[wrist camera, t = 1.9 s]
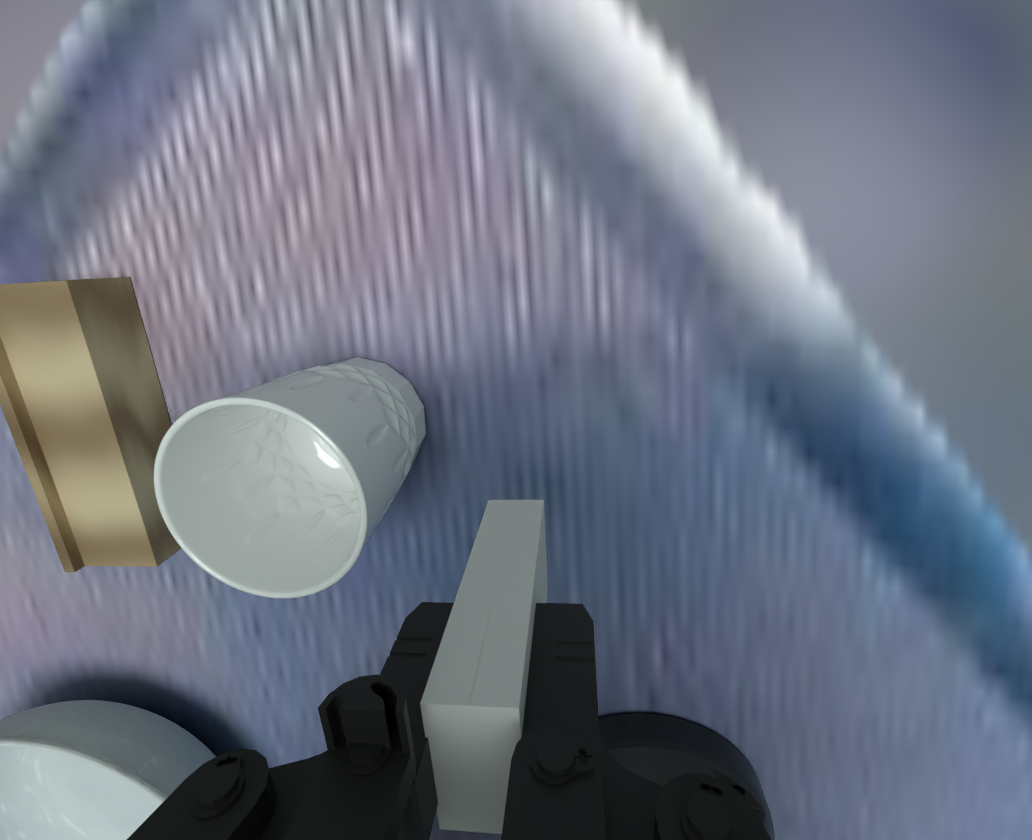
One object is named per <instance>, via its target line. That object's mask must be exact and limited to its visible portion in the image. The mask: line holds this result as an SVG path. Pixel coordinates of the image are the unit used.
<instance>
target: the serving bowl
mask: <svg viewBox="0 0 1032 840" xmlns="http://www.w3.org/2000/svg"><path fill="white" fill-rule="evenodd" d="M215 757H216V756H215V755H214V754H213V753H212V752H211V751H210V750H209V749H208V748H207V747H206V746H205V745H204V744H203V743H202V742H201V741H199V740H198V739H197V738H196V737H194V736H193V735H192V734H190V733H189V732H188V731H186V730H185V729H183V728H182V727H180V726H178V725H177V724H175V723H174V722H172V721H170V720H168V719H166V718H164V717H161V716H159V715H157V714H155V713H152V712H150V711H147V710H144V709H141V708H138V707H134V706H131V705H127V704H122V703H117V702H110V701H101V700H74V701H64V702H58V703H52V704H47V705H42V706H38V707H34V708H31V709H28V710H24V711H22V712H19V713H16V714H14V715H11V716H9V717H6V718H4V719H2V720H0V840H127V839H128V838H129V837H130V836H131V835H132V834H133V833H134V832H135V831H136V830H137V828H138V827H139V826H140V825H141V824H142V823H143V822H144V821H145V820H146V819H147V818H148V817H149V816H150V815H151V814H152V813H153V812H154V811H155V810H156V809H157V808H158V807H159V806H160V805H161V804H162V803H163V802H164V801H165V800H166V799H167V798H168V796H169V795H170V794H171V793H172V792H173V791H174V790H175V789H176V788H177V787H178V786H179V785H180V784H181V783H182V782H183V781H184V780H185V779H186V778H187V777H188V776H189V775H191V774H192V773H193V772H194V771H195V770H197V769H198V768H199V767H200V766H201V765H203V764H204V763H206V762H207V761H209V760H211V759H213V758H215Z"/></svg>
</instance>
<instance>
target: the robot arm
mask: <svg viewBox="0 0 1032 840" xmlns="http://www.w3.org/2000/svg"><path fill="white" fill-rule="evenodd" d="M547 590H548V579H547V558H546V538H545V517H544V500H488V503H487V506H486V509H485V512H484V515H483V518H482V521H481V524H480V527H479V530H478V533H477V536H476V539H475V542H474V545H473V548H472V551H471V554H470V557H469V560H468V563H467V566H466V569H465V572H464V575H463V578H462V581H461V584H460V587H459V590H458V593H457V596H456V599H455V602H454V603H432V602H422V603H421V604H420V605H419V606H418V607H417V608H416V609H415V610H414V611H412V612H411V613H410V614H409V615H408V616H407V617H406V618H405V621H404V623H403V625H402V627H401V629H400V632H399V634H398V636H397V641H395V643H394V645H393V647H392V649H391V652H390V657H388V658H387V660H386V663H385V665H384V667H383V669H382V671H381V674H380V675H370V676H362V677H358V678H356V679H353V680H351V681H348V682H346V683H343V684H342V685H341V686H339V687H338V688H337V689H335V690H334V691H333V692H331V693H330V694H329V695H328V696H327V697H326V699H325V700H324V701H323V702H322V704H321V705H320V706H319V708H318V710H319V714H320V719H321V723H322V727H323V731H324V735H325V740H326V744H327V748H328V750H327V751H325V752H324V753H322V754H319V755H317V756H314V757H311V758H308V759H304V760H301V761H297V762H293V763H289V764H285V765H281V766H277V767H273V768H268V764H267V761H266V758H265V757H264V756H263V755H261V754H260V753H258V752H257V751H256V750H247V749H238V750H234V751H230V752H226V753H222V754H221V755H219V756H217V757H215V758H213V759H211V760H209V761H207V762H206V763H204V764H203V765H201V766H200V767H199V768H198V769H197V770H195V771H194V772H193V773H192V774H191V775H189V776H188V777H187V778H186V779H185V780H184V781H183V782H182V783H181V784H180V785H179V786H178V787H177V788H176V789H175V790H174V791H173V792H172V793H171V794H170V795H169V796H168V798H167V799H166V800H165V801H164V802H163V803H162V804H161V805H160V806H159V807H158V808H157V809H156V810H155V811H154V812H153V813H152V814H151V815H150V816H149V817H148V818H147V819H146V820H145V821H144V822H143V823H142V824H141V825H140V826H139V827H138V828H137V830H136V831H135V832H134V833H133V834H132V835H131V836H130V837H129V838H128V839H127V840H429V838H430V833H431V829H432V825H433V821H434V817H435V813H436V809H437V816H438V822H439V829H440V830H453V831H467V832H480V833H493V834H502V837H501V840H775V837H774V828H773V822H772V818H771V814H770V811H769V808H768V805H767V802H766V799H765V797H764V794H763V791H762V788H761V785H760V782H759V780H758V777H757V775H756V773H755V771H754V769H753V768H752V766H751V765H750V763H749V762H748V760H747V759H746V758H745V757H744V756H743V755H742V753H741V752H740V751H739V750H737V749H736V748H735V747H734V746H733V745H732V744H731V743H729V742H728V741H727V740H725V739H724V738H722V737H721V736H719V735H717V734H716V733H714V732H712V731H710V730H708V729H706V728H704V727H702V726H700V725H697V724H694V723H692V722H689V721H685V720H682V719H678V718H674V717H669V716H664V715H656V714H641V713H633V714H619V715H612V716H607V717H602V718H598V703H597V683H596V664H595V645H594V626H593V620H592V618H591V617H590V615H589V613H588V612H587V610H586V609H585V607H584V606H583V604H561V603H547Z"/></svg>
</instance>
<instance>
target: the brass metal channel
mask: <svg viewBox="0 0 1032 840" xmlns="http://www.w3.org/2000/svg"><path fill="white" fill-rule="evenodd" d="M0 404H1V407H2V410H3V412H4V415H5V417H6V420H7V423H8V425H9V428H10V430H11V433H12V436H13V438H14V441H15V443H16V446H17V449H18V451H19V454H20V456H21V459H22V462H23V464H24V467H25V469H26V472H27V475H28V477H29V480H30V483H31V485H32V488H33V490H34V493H35V496H36V498H37V501H38V503H39V506H40V509H41V511H42V514H43V516H44V519H45V522H46V524H47V527H48V529H49V532H50V535H51V537H52V540H53V542H54V545H55V548H56V550H57V553H58V555H59V558H60V561H61V563H62V566H63V568H64V571H65V572H76V571H77V570H79V569H81V568H82V567H84V566H154V567H157V566H159V565H160V564H161V563H163V562H164V561H165V560H167V559H168V558H169V557H171V556H172V555H173V554H175V553H176V552H177V551H178V550H180V549H181V547H180V546H179V544H178V543H177V542H176V540H175V539H174V537H173V536H172V534H171V533H170V531H169V529H168V527H167V526H166V524H165V522H164V519H163V517H162V515H161V512H160V509H159V506H158V503H157V499H156V494H155V488H154V465H155V459H156V455H157V451H158V448H159V446H160V443H161V441H162V439H163V437H164V436H165V434H166V433H167V431H168V430H169V428H170V427H171V422H170V418H169V415H168V411H167V408H166V404H165V401H164V397H163V394H162V390H161V386H160V383H159V379H158V376H157V372H156V369H155V365H154V362H153V358H152V354H151V351H150V347H149V344H148V340H147V337H146V333H145V329H144V326H143V322H142V319H141V315H140V312H139V308H138V305H137V301H136V297H135V294H134V290H133V287H132V283H131V280H130V277H120V278H102V279H83V280H65V281H49V282H34V283H18V284H2V285H0Z"/></svg>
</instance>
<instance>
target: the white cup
mask: <svg viewBox="0 0 1032 840" xmlns="http://www.w3.org/2000/svg"><path fill="white" fill-rule="evenodd" d="M425 435H426V426H425V413H424V406H423V404H422V402H421V400H420V399H419V397H418V395H417V393H416V392H415V390H414V388H413V386H412V384H411V383H410V381H409V380H407V379H406V378H405V377H403V376H402V375H401V374H399V373H398V372H397V371H395V370H394V369H393V368H391V367H390V366H389V365H387V364H386V363H382V362H377V361H373V360H369V359H364V358H360V357H355V358H351V359H347V360H343V361H338V362H334V363H330V364H327V365H325V366H324V365H321V366H316V367H312V368H309V369H306V370H301V371H298V372H295V373H292V374H289V375H286V376H283V377H280V378H277V379H274V380H271V381H268V382H265V383H262V384H260V385H257V386H254V387H251V388H248V389H245V390H242V391H239V392H236V393H233V394H230V395H227V396H224V397H221V398H218V399H215V400H212V401H209V402H206V403H203V404H201V405H199V406H197V407H195V408H193V409H191V410H189V411H188V412H186V413H185V414H184V415H182V416H181V417H180V418H179V419H178V420H177V421H176V422H175V423H174V424H173V425H172V426H171V427H170V428H169V430H168V431H167V433H166V434H165V436H164V437H163V439H162V441H161V443H160V446H159V448H158V451H157V455H156V459H155V465H154V488H155V494H156V499H157V503H158V506H159V509H160V512H161V515H162V517H163V519H164V522H165V524H166V526H167V527H168V529H169V531H170V533H171V534H172V536H173V537H174V539H175V540H176V542H177V543H178V544H179V546H180V547H181V548H182V549H183V550H184V552H185V553H186V554H187V555H188V556H189V557H190V558H191V559H192V560H193V561H194V562H195V563H196V564H198V565H199V566H200V567H201V568H202V569H204V570H205V571H206V572H208V573H209V574H211V575H212V576H214V577H215V578H217V579H218V580H220V581H222V582H224V583H225V584H227V585H229V586H232V587H234V588H236V589H239V590H241V591H244V592H247V593H250V594H254V595H258V596H263V597H270V598H296V597H302V596H307V595H311V594H314V593H317V592H319V591H322V590H324V589H326V588H328V587H330V586H331V585H333V584H334V583H336V582H337V581H338V580H340V579H341V578H342V577H343V576H344V575H345V574H346V573H347V572H348V571H349V570H350V569H351V567H352V566H353V565H354V563H355V562H356V560H357V558H358V557H359V555H360V553H361V552H362V550H363V548H364V547H365V545H366V544H367V542H368V540H369V539H370V537H371V535H372V534H373V532H374V531H375V529H376V527H377V526H378V524H379V522H380V521H381V519H382V518H383V516H384V514H385V513H386V511H387V510H388V508H389V506H390V505H391V503H392V501H393V500H394V498H395V495H396V494H397V492H398V490H399V489H400V487H401V485H402V483H403V481H404V480H405V478H406V476H407V475H408V473H409V471H410V469H411V466H412V463H413V462H414V460H415V459H416V457H417V454H418V452H419V450H420V447H421V445H422V442H423V440H424V438H425Z"/></svg>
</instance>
